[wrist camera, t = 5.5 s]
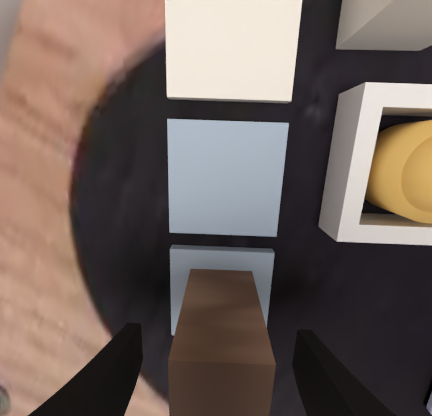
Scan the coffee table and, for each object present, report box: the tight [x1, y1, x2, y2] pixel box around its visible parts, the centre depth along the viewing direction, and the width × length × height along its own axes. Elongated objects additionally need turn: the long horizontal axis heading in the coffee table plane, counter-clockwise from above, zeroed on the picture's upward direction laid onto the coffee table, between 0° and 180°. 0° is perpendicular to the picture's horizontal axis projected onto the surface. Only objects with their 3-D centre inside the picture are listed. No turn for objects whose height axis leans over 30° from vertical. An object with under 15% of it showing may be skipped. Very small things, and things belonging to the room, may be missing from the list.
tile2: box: [165, 0, 302, 103], centre depth 11 cm, size 6×6×1 cm
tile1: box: [167, 119, 289, 237], centre depth 12 cm, size 6×6×1 cm
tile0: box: [170, 245, 275, 335], centre depth 14 cm, size 6×6×1 cm
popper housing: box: [318, 82, 432, 245], centre depth 11 cm, size 7×7×2 cm
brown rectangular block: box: [168, 269, 276, 416], centre depth 11 cm, size 4×4×6 cm
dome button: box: [364, 120, 432, 223], centre depth 10 cm, size 4×4×4 cm
